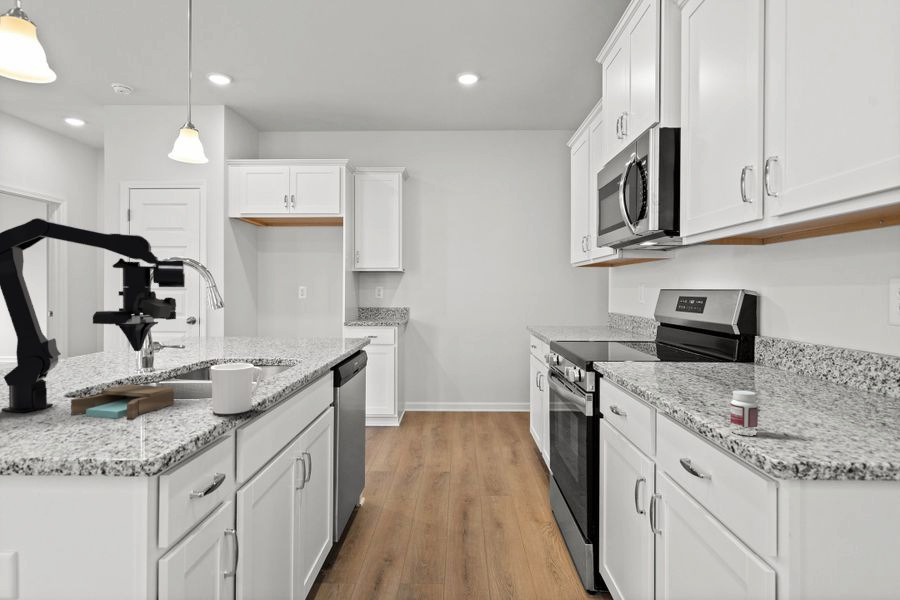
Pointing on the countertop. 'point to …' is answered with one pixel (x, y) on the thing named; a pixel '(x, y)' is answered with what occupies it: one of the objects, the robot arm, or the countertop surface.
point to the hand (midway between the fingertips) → (137, 351)
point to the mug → (233, 388)
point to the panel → (111, 409)
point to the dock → (147, 402)
